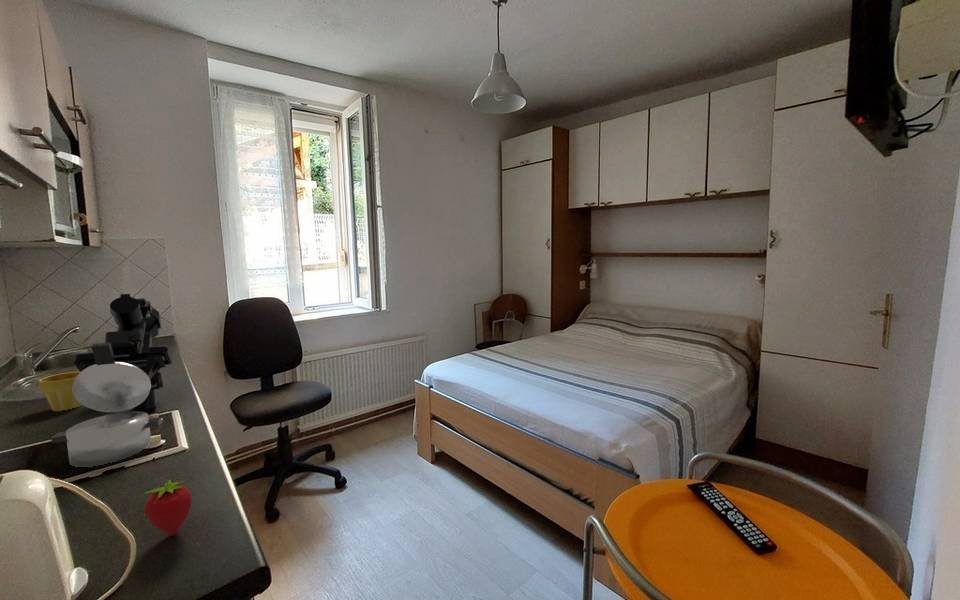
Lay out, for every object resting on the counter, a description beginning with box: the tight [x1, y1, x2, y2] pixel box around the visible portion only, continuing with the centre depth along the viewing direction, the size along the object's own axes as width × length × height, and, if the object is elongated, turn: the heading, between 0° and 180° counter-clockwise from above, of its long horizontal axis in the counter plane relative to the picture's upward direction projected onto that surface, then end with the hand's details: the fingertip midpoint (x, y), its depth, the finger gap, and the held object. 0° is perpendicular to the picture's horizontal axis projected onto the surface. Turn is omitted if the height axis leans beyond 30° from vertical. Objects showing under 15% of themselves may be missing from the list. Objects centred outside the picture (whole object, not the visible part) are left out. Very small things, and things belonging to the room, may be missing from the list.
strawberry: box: [143, 476, 193, 537], centre depth 64 cm, size 6×8×10 cm
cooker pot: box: [50, 411, 163, 468], centre depth 93 cm, size 14×19×7 cm
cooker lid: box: [72, 342, 151, 413], centre depth 96 cm, size 19×14×2 cm
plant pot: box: [38, 371, 83, 412], centre depth 123 cm, size 10×10×10 cm
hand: (120, 387), depth 101 cm, fingers open, 9 cm apart
